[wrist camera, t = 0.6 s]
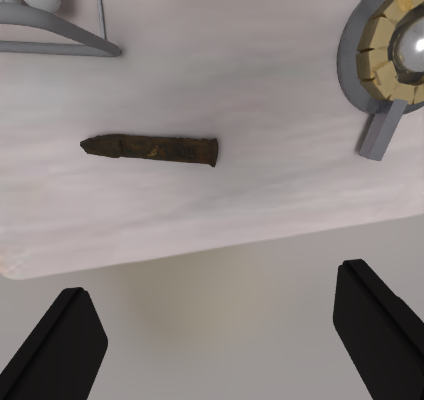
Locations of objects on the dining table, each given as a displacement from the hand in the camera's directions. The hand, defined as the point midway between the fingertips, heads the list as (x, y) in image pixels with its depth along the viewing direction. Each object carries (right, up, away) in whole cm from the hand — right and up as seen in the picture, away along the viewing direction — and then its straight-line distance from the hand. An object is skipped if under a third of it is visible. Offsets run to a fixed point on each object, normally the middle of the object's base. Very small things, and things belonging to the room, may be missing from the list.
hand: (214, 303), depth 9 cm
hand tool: (-9, +12, +27) cm, 31 cm away
